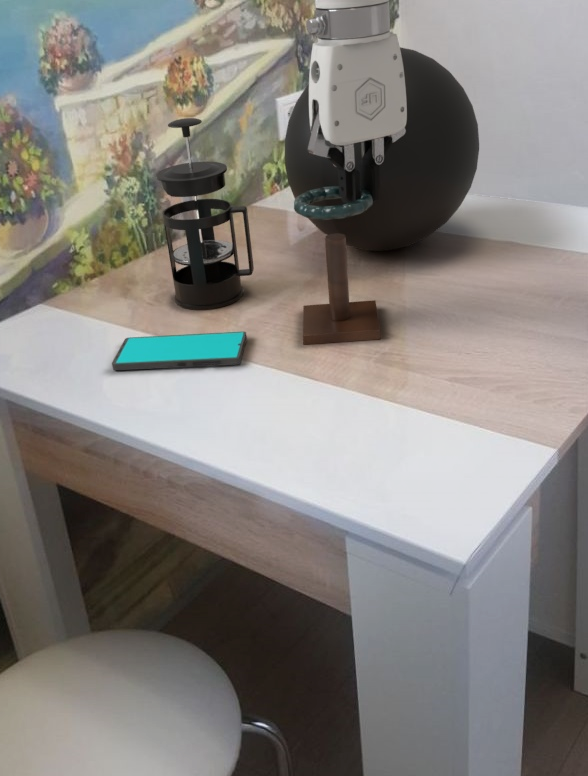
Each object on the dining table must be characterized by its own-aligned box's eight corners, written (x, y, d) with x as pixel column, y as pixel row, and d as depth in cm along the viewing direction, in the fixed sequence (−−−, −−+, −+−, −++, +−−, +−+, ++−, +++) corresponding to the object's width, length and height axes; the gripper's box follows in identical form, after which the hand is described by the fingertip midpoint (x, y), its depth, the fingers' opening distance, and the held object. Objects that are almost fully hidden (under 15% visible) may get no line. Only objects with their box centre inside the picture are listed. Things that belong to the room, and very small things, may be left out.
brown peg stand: (375, 309, 110) (372, 221, 104) (380, 339, 103) (376, 246, 97) (304, 314, 111) (296, 227, 105) (303, 344, 103) (295, 253, 98)
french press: (163, 311, 116) (132, 131, 104) (177, 285, 124) (150, 115, 112) (251, 307, 115) (229, 124, 103) (259, 281, 122) (241, 107, 110)
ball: (475, 212, 138) (479, 24, 124) (479, 276, 116) (485, 55, 102) (306, 220, 144) (291, 40, 130) (279, 282, 121) (258, 73, 107)
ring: (370, 193, 103) (369, 181, 102) (375, 217, 95) (374, 204, 95) (295, 200, 103) (294, 188, 103) (294, 224, 96) (293, 211, 95)
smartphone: (125, 337, 108) (246, 331, 106) (126, 343, 108) (247, 337, 106) (110, 364, 102) (238, 358, 100) (112, 371, 102) (239, 365, 100)
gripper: (304, 38, 85) (316, 224, 95) (437, 15, 91) (436, 193, 100) (269, 33, 91) (283, 209, 101) (395, 12, 97) (398, 180, 106)
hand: (359, 200), depth 100 cm, fingers closed on ring, 1 cm apart
